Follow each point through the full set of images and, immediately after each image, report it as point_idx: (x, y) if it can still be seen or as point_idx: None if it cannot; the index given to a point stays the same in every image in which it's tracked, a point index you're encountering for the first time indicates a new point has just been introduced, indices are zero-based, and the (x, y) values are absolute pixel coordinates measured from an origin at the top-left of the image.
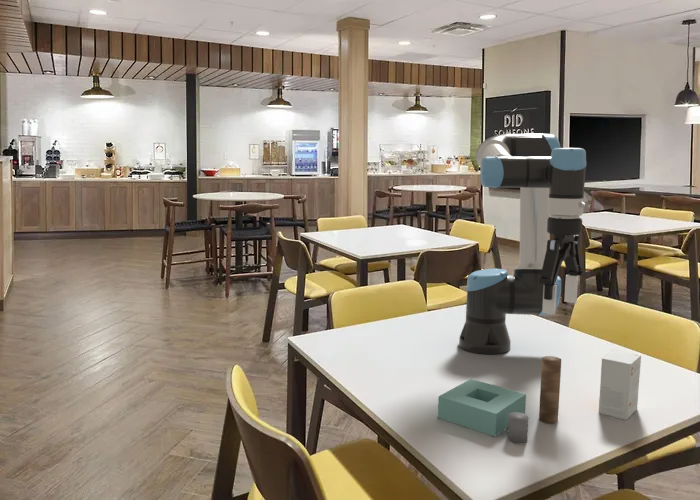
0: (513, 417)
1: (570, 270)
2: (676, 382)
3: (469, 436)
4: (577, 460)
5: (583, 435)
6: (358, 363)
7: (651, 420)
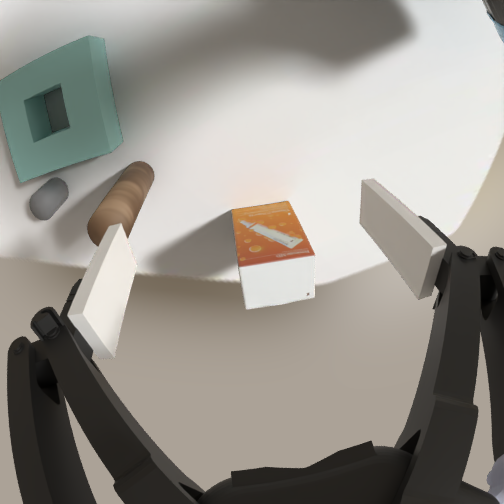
0: (33, 205)
1: (444, 291)
2: None
3: None
4: (83, 263)
5: (140, 235)
6: None
7: None
